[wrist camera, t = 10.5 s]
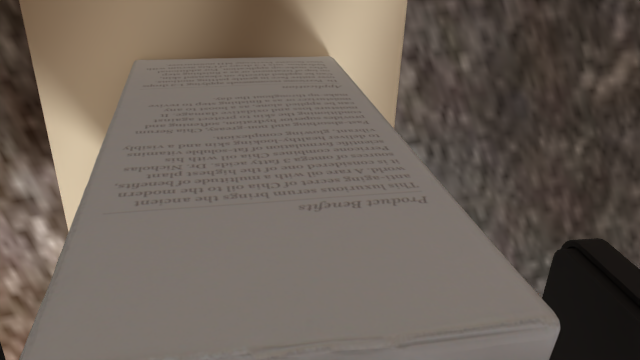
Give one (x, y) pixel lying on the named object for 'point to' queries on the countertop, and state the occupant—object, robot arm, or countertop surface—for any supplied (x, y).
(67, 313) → the skincare box
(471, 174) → the countertop surface
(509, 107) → the countertop surface
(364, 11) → the pedestal
